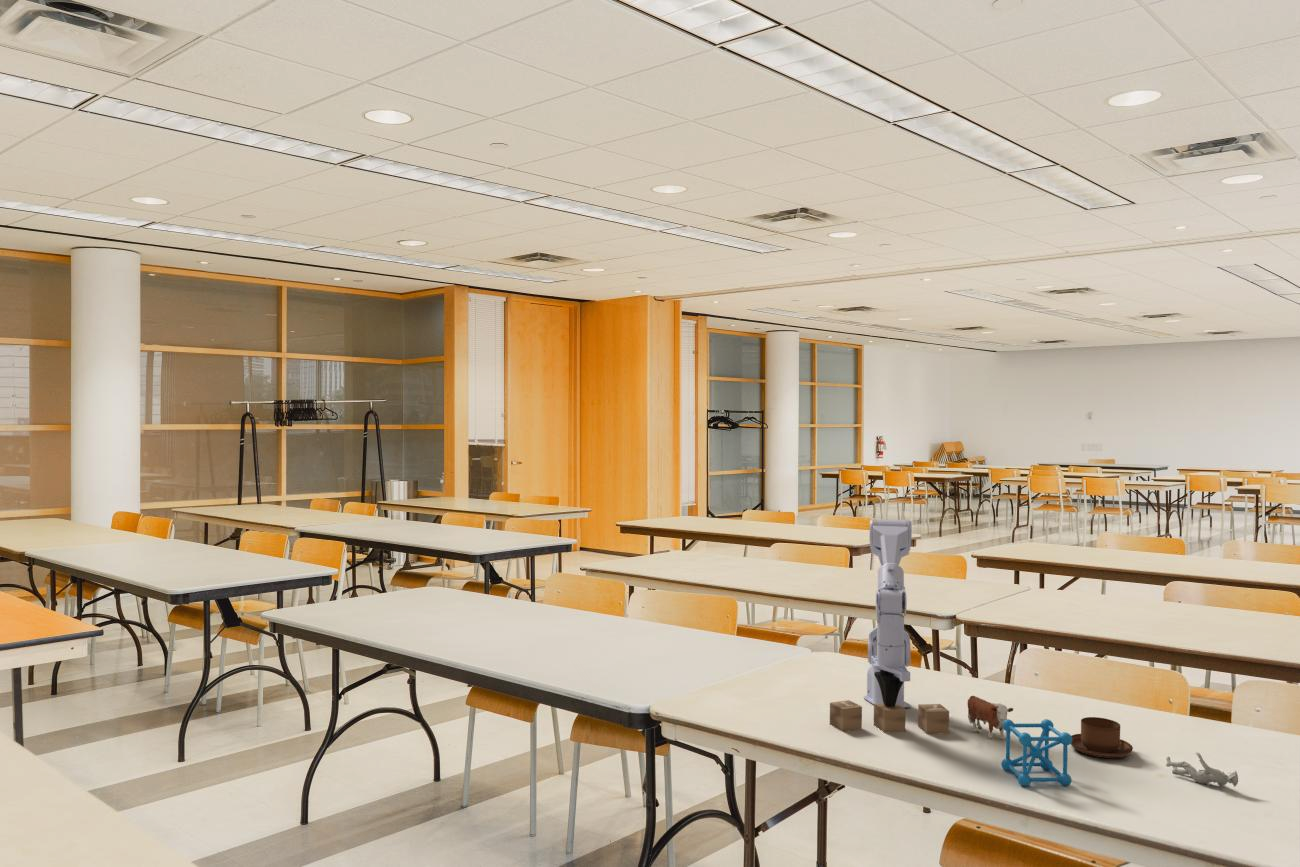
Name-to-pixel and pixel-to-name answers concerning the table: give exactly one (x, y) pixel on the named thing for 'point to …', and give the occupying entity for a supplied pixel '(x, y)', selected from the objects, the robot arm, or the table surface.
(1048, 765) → the molecular structure
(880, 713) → the plain cube
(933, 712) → the cube seven
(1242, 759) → the table surface
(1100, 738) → the cup and saucer
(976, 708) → the bull figurine
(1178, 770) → the soldier figure
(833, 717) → the cube one
